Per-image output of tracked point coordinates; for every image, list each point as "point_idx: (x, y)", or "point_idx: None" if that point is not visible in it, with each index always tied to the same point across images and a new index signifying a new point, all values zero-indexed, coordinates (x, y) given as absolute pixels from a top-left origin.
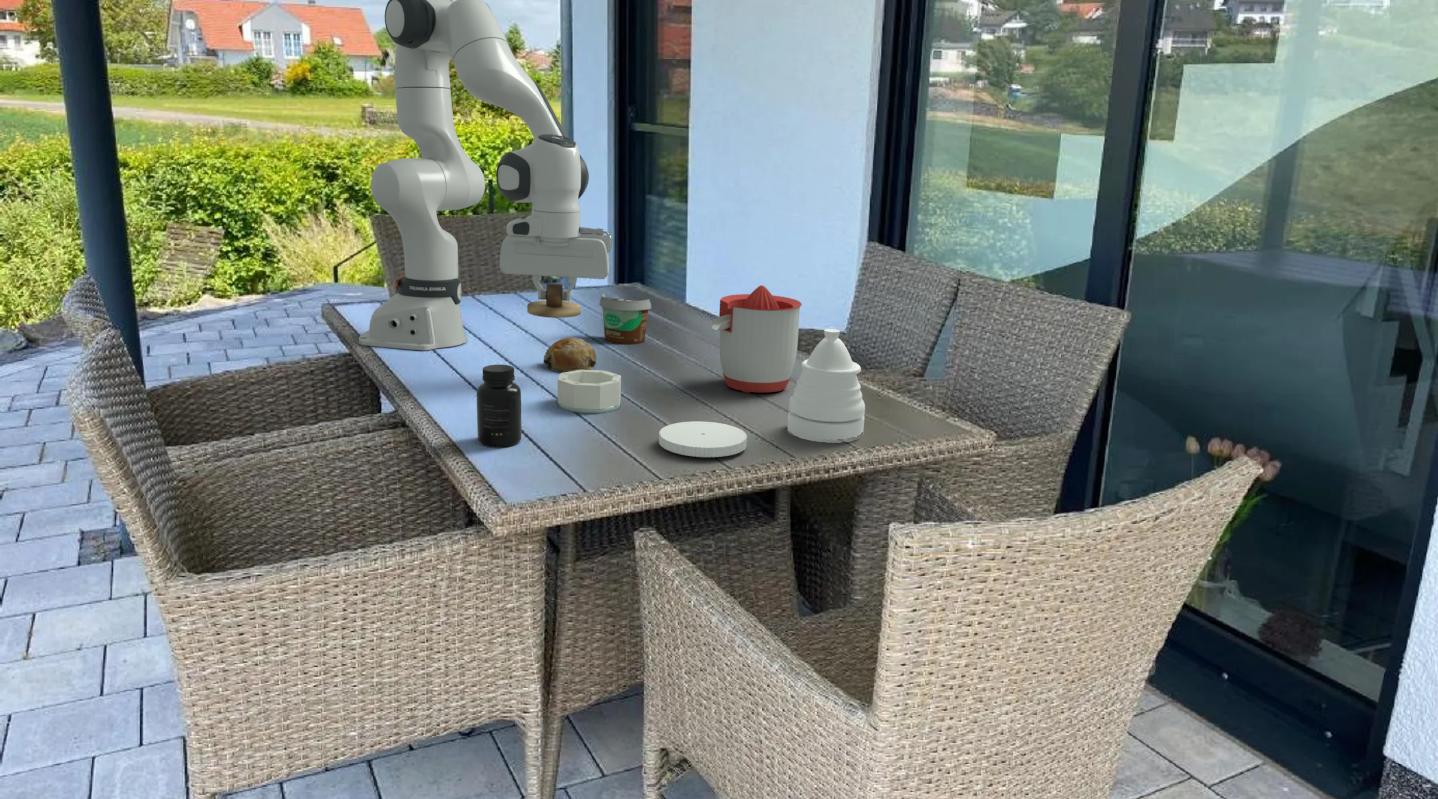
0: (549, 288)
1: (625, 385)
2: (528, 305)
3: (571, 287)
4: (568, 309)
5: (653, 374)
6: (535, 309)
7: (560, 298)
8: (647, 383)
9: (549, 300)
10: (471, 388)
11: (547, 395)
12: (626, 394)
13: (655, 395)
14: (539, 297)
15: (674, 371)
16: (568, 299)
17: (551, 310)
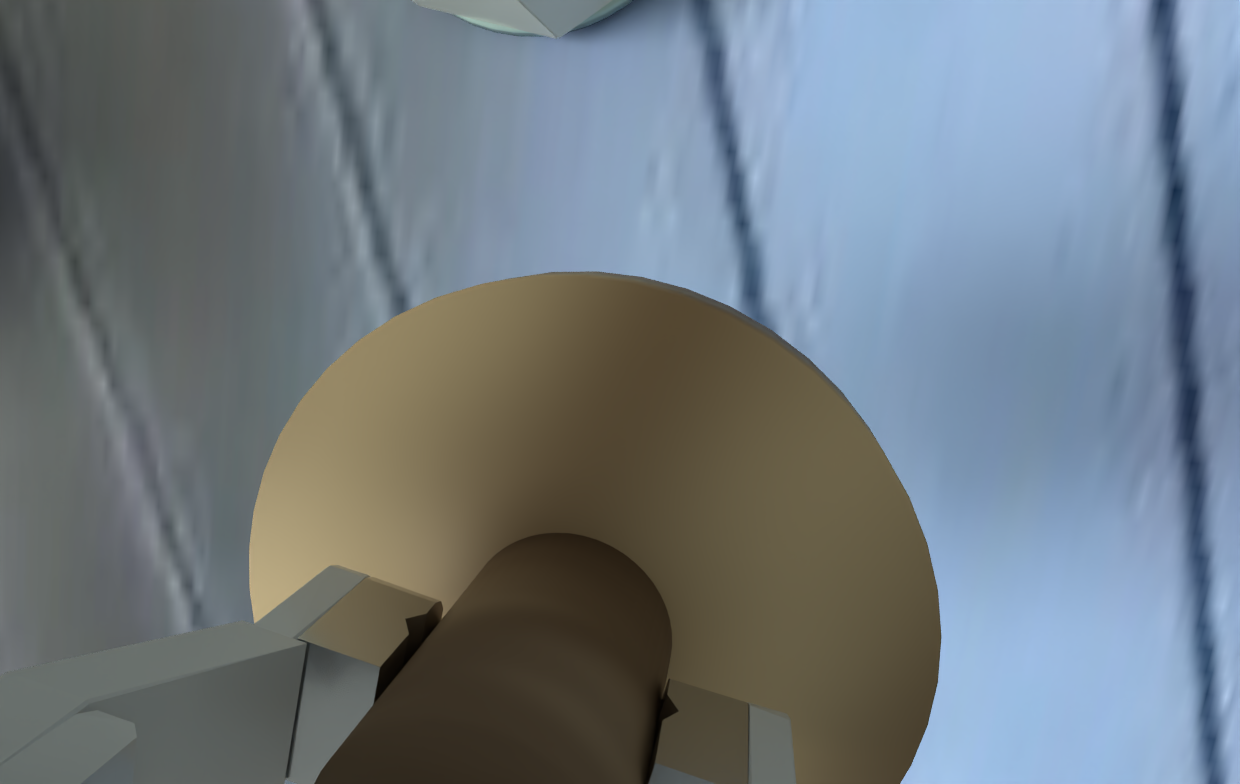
0: (586, 739)
1: (298, 266)
2: (919, 683)
3: (157, 653)
4: (405, 404)
5: (151, 468)
6: (864, 427)
7: (451, 608)
8: (187, 295)
9: (625, 610)
10: (1206, 294)
11: (752, 80)
12: (306, 70)
13: (160, 36)
14: (771, 716)
15: (55, 509)
16: (341, 567)
17: (640, 339)
